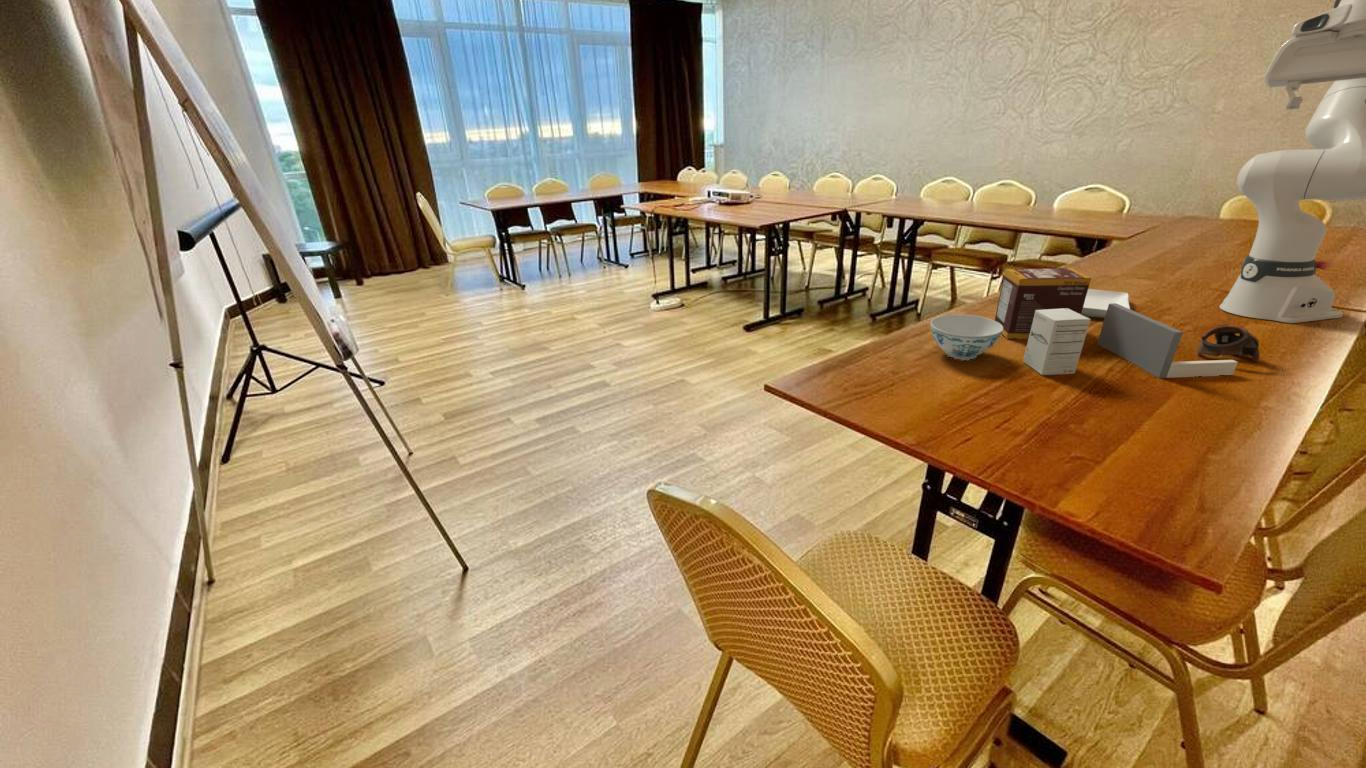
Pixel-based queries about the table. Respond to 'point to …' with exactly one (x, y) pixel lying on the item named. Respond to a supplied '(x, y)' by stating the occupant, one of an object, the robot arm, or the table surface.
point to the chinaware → (965, 335)
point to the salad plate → (1102, 302)
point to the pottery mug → (1229, 342)
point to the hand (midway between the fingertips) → (1330, 105)
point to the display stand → (1153, 345)
